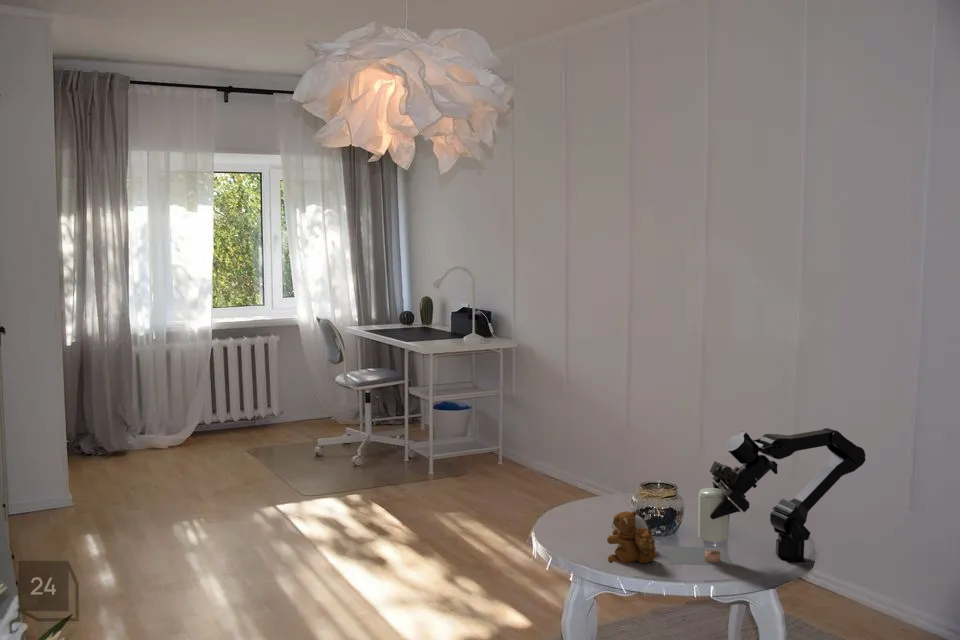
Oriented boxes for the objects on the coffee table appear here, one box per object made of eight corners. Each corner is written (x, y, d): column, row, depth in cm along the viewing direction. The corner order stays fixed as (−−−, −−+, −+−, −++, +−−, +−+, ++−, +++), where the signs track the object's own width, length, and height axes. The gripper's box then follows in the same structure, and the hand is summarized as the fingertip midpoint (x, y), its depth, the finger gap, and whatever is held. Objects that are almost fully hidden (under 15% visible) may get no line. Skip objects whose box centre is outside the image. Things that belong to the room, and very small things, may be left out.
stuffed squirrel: (619, 550, 253) (620, 504, 251) (665, 561, 244) (666, 513, 243) (601, 559, 245) (602, 512, 244) (647, 571, 236) (648, 522, 235)
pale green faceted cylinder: (724, 532, 246) (724, 488, 245) (729, 541, 239) (730, 495, 238) (696, 532, 247) (697, 487, 246) (700, 541, 239) (701, 495, 238)
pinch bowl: (718, 558, 245) (718, 549, 245) (721, 563, 241) (721, 554, 241) (703, 558, 245) (703, 549, 245) (706, 563, 241) (706, 554, 241)
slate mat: (723, 549, 254) (723, 547, 254) (733, 566, 240) (733, 565, 240) (662, 547, 255) (662, 546, 255) (669, 565, 241) (669, 563, 241)
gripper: (720, 444, 250) (680, 483, 251) (737, 461, 231) (694, 502, 233) (748, 472, 250) (708, 511, 252) (768, 491, 232) (724, 532, 233)
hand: (707, 513), depth 242 cm, fingers closed on pale green faceted cylinder, 7 cm apart
